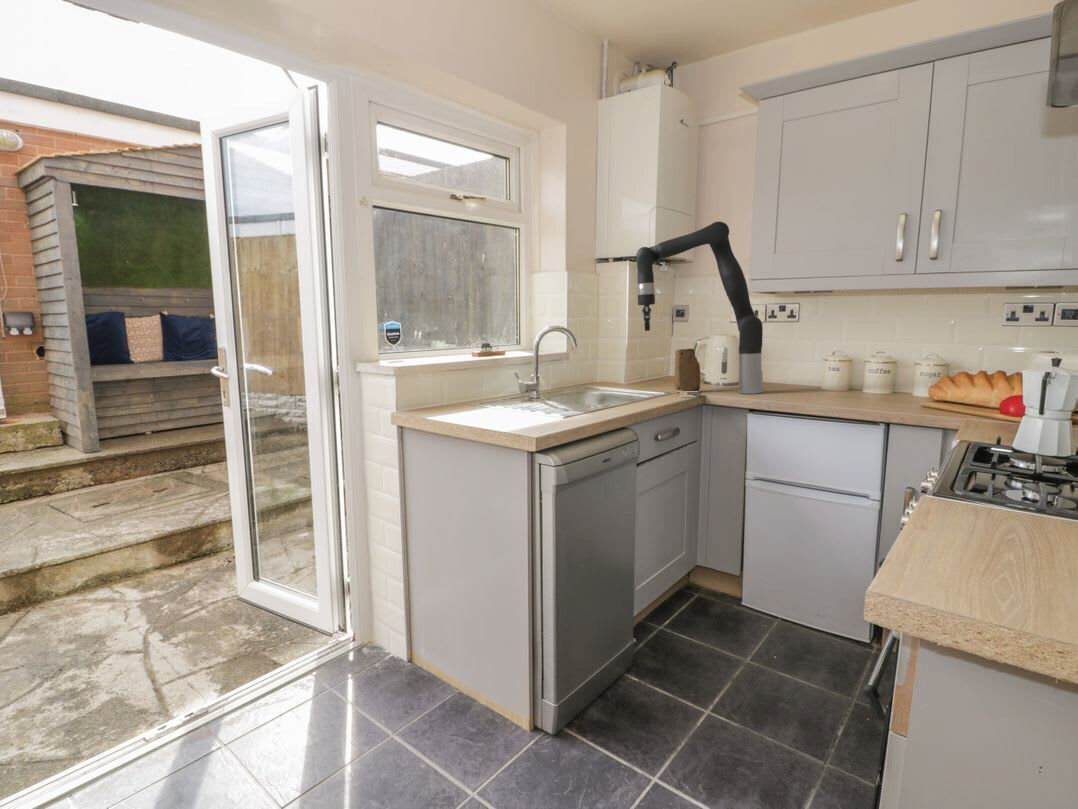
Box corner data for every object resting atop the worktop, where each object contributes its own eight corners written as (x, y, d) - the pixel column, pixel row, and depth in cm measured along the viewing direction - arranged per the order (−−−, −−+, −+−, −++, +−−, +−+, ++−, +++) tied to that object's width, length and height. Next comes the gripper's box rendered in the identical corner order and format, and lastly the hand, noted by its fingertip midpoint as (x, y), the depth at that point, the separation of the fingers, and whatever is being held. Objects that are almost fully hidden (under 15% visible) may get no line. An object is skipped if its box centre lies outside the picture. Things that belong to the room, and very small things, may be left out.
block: (677, 393, 263) (676, 349, 261) (673, 392, 271) (673, 348, 268) (701, 392, 263) (701, 348, 260) (697, 391, 270) (696, 347, 268)
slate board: (697, 394, 258) (697, 391, 258) (699, 397, 247) (699, 394, 246) (679, 394, 260) (679, 392, 260) (680, 397, 248) (680, 395, 248)
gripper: (654, 292, 250) (656, 330, 252) (654, 294, 264) (655, 330, 266) (637, 293, 252) (638, 331, 254) (637, 295, 266) (639, 331, 268)
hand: (647, 330), depth 260 cm, fingers open, 8 cm apart
